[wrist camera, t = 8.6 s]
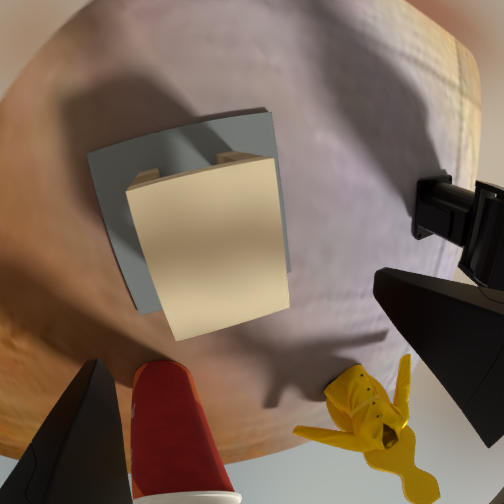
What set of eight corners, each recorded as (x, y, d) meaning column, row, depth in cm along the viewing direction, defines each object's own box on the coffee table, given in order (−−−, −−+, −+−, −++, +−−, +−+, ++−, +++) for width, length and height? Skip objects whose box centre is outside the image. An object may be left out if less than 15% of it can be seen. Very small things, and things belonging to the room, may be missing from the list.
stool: (250, 256, 20) (289, 307, 14) (168, 278, 19) (176, 341, 13) (233, 150, 17) (273, 158, 11) (139, 172, 15) (125, 191, 9)
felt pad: (269, 112, 17) (271, 111, 16) (288, 269, 22) (290, 271, 22) (88, 153, 14) (86, 153, 14) (140, 312, 19) (140, 315, 19)
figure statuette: (394, 331, 31) (505, 439, 12) (394, 361, 35) (482, 455, 16) (276, 406, 30) (360, 553, 10) (293, 426, 33) (363, 544, 14)
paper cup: (106, 376, 21) (108, 519, 8) (165, 336, 21) (195, 504, 9) (163, 412, 24) (188, 531, 12) (219, 380, 25) (268, 509, 12)
